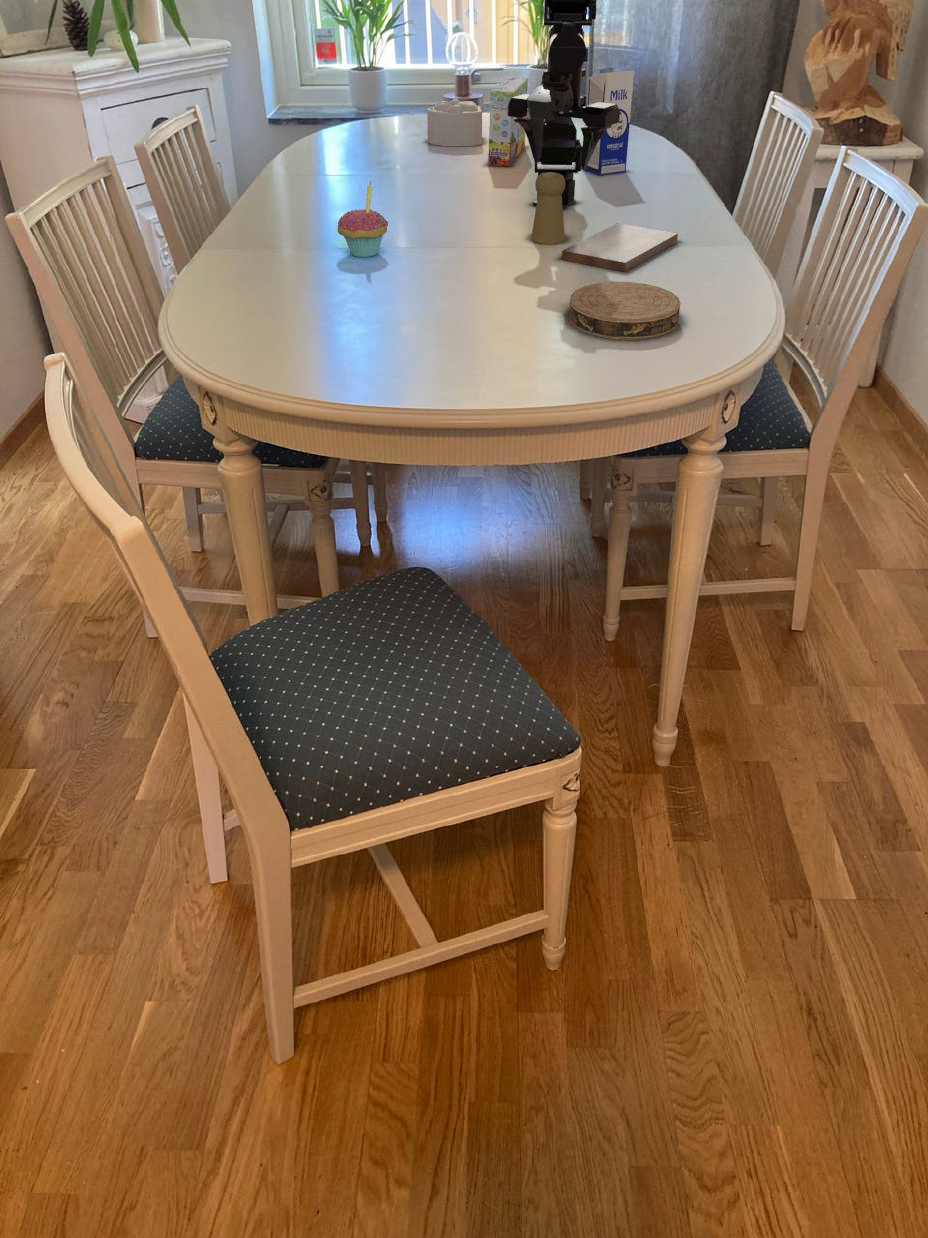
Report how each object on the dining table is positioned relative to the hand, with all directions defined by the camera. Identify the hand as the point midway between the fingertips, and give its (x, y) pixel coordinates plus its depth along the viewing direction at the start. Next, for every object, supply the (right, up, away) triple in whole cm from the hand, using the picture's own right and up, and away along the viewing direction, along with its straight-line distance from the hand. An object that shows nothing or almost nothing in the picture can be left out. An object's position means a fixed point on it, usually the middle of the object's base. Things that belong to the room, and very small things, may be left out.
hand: (560, 165), depth 178 cm
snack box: (-7, +28, +60) cm, 66 cm away
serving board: (+11, -14, +1) cm, 18 cm away
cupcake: (-34, -15, 0) cm, 37 cm away
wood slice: (+7, -34, -26) cm, 44 cm away
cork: (-2, -10, +7) cm, 13 cm away
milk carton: (+14, +20, +48) cm, 54 cm away
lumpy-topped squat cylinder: (-19, +37, +72) cm, 84 cm away
